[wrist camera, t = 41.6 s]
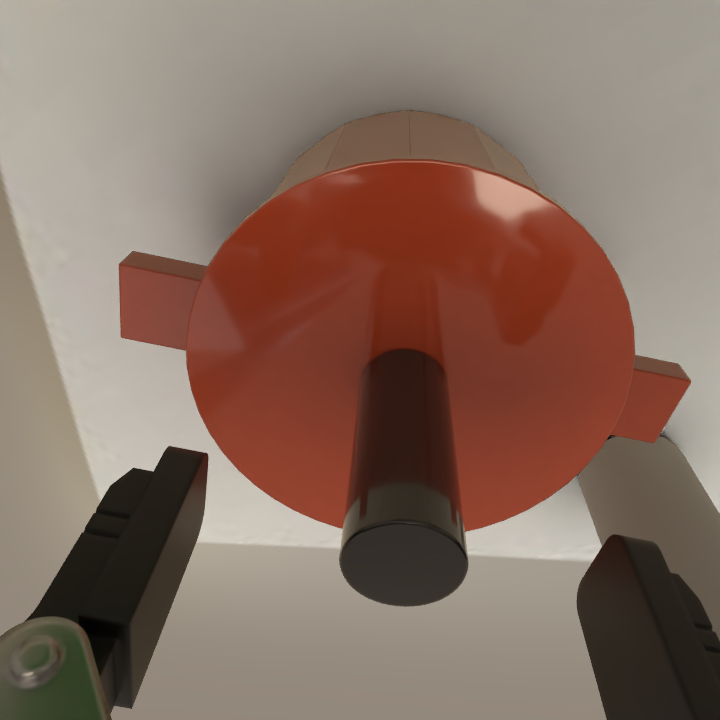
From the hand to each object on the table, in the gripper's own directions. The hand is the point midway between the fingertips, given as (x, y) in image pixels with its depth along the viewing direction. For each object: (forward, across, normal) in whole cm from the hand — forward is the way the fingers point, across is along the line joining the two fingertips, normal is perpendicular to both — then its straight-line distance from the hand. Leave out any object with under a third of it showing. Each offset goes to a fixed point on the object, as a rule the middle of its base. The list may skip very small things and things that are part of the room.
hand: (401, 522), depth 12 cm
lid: (+6, 0, 0) cm, 6 cm away
